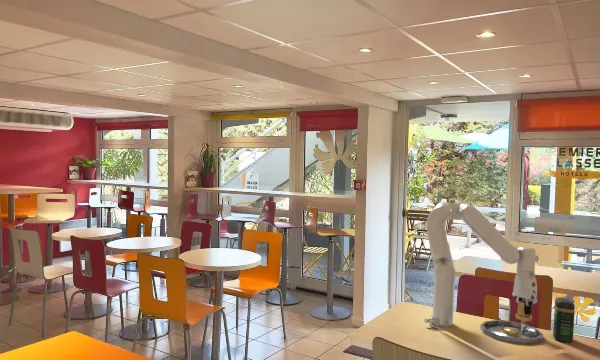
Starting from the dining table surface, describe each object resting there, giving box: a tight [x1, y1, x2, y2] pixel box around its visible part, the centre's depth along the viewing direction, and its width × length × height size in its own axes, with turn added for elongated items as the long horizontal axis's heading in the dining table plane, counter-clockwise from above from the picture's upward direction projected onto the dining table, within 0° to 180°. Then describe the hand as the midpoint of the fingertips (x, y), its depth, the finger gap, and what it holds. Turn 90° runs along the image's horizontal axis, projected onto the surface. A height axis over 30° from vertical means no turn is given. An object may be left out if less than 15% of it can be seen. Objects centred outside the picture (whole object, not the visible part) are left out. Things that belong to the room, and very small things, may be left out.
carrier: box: [480, 319, 544, 345], centre depth 214 cm, size 25×25×6 cm
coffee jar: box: [552, 297, 576, 343], centre depth 213 cm, size 10×8×19 cm
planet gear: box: [515, 300, 533, 322], centre depth 216 cm, size 7×7×8 cm
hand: (523, 312), depth 216 cm, fingers closed on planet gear, 3 cm apart
